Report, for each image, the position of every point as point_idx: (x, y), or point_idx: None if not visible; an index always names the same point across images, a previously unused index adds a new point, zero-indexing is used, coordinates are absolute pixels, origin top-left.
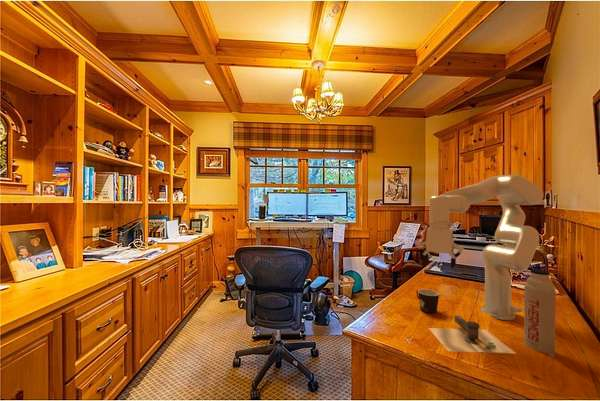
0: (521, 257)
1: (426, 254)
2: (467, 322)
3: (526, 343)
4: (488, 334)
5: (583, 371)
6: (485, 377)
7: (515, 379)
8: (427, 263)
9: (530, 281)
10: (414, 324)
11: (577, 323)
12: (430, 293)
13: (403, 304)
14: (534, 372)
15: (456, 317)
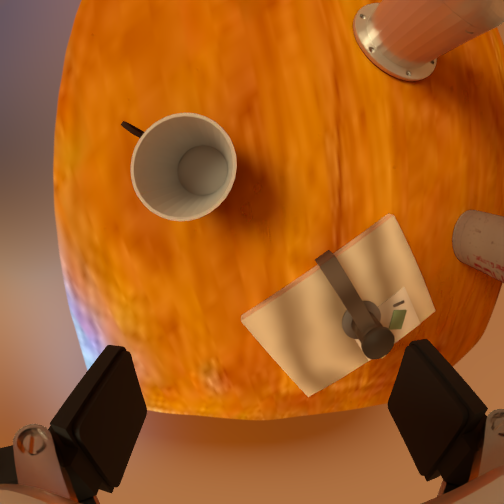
0: None
1: (92, 489)
2: (365, 347)
3: (462, 253)
4: (398, 247)
5: None
6: (365, 405)
7: None
8: (141, 410)
9: None
10: (190, 291)
11: (500, 44)
12: (185, 123)
13: (104, 145)
14: (440, 337)
15: (326, 276)
